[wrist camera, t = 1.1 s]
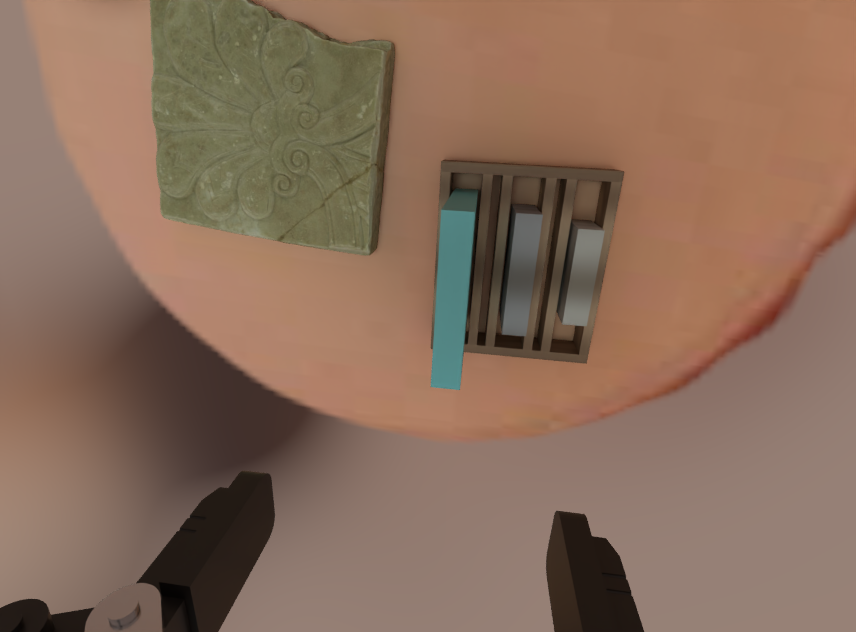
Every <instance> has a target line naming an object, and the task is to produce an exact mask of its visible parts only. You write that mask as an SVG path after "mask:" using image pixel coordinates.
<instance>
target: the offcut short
mask: <svg viewBox="0 0 856 632" xmlns="http://www.w3.org/2000/svg"><path fill="white" fill-rule="evenodd" d="M604 233H605V230H603V229H602V228H601V227H599V226H598V225H597V224H595V223H594V222H592V221H591V220H576V219H571V223H570V230H569V236H568V242H567V248H566V254H565V260H564V266H563V273H562V279H561V285H560V291H559V297H558V303H557V310H556V311H557V313H558V315H559V318H560V320H561V323H562V324H565V325H577V326H587V322H588V317H589V311H590V306H591V301H592V296H593V290H594V285H595V280H596V275H597V269H598V264H599V259H600V254H601V249H602V243H603V238H604Z"/></svg>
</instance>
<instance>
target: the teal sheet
mask: <svg viewBox="0 0 856 632" xmlns="http://www.w3.org/2000/svg"><path fill="white" fill-rule="evenodd" d="M477 198H478V190H476V189H460V188H455V190H454V191H453V193H452V194H451V196H450V197H449V199H448V200H447V202H446V203H445V205H444V206H443V208H442V209H441V222H440V239H439V256H438V273H437V290H436V307H435V324H434V341H433V358H432V375H431V387H436V388H446V389H455V390H460V383H461V373H462V363H463V353H464V343H465V333H466V323H467V313H468V301H469V290H470V278H471V267H472V255H473V244H474V232H475V221H476V209H477Z"/></svg>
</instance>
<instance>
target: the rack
mask: <svg viewBox="0 0 856 632" xmlns="http://www.w3.org/2000/svg"><path fill="white" fill-rule="evenodd" d="M453 172H455V173H472V174H483V180H482V191H481V202H480V214H479V225H478V236H477V247H476V258H475V270H474V281H473V292H472V303H471V314H470V326H469V332H466V333H465V343H464V352H470V353H481V354H491V355H502V356H512V357H523V358H533V359H544V360H554V361H565V362H575V363H586V364H587V359H588V353H589V348H590V343H591V338H592V333H593V328H594V323H595V318H596V313H597V308H598V303H599V298H600V293H601V287H602V282H603V277H604V272H605V267H606V262H607V257H608V252H609V247H610V242H611V237H612V232H613V227H614V222H615V216H616V211H617V206H618V201H619V196H620V191H621V186H622V181H623V176H624V171H619V170H613V169H595V168H578V167H560V166H542V165H525V164H507V163H490V162H472V161H454V160H443V161H441V178H440V195H439V213H438V231H437V248H436V266H435V283H434V301H433V318H432V336H431V349H433V341H434V324H435V307H436V290H437V273H438V256H439V239H440V222H441V209H442V208H443V206H444V205H445V203H446V202H447V200H448V199H449V197H450V196H451V194H452V180H453ZM493 175H502V177H501V187H500V196H499V206H498V216H497V225H496V235H495V245H494V254H493V264H492V273H491V283H490V293H489V302H488V312H487V322H486V331H485V333H478V326H479V315H480V305H481V295H482V284H483V274H484V264H485V253H486V243H487V233H488V223H489V212H490V202H491V192H492V181H493ZM513 176H523V177H540V178H542V180H541V187H540V195H539V202H538V210H539V211H540V212H541V213H542V214H543V218H542V225H541V233H540V240H539V247H538V254H537V261H536V268H535V276H534V283H533V290H532V297H531V304H530V312H529V319H528V326H527V333H526V336H510V335H499V334H496V326H497V317H498V308H499V299H500V290H501V281H502V272H503V263H504V254H505V246H506V237H507V228H508V219H509V210H510V201H511V192H512V183H513ZM557 179H561V181H560V188H559V195H558V201H557V208H556V215H555V222H554V228H553V235H552V242H551V248H550V255H549V262H548V268H547V275H546V282H545V288H544V295H543V302H542V309H541V315H540V322H539V329H538V335H537V338H534V331H535V324H536V318H537V311H538V304H539V297H540V290H541V283H542V277H543V270H544V263H545V256H546V249H547V242H548V236H549V229H550V222H551V215H552V208H553V201H554V195H555V188H556V181H557ZM577 180H590V181H602V184H601V189H600V195H599V200H598V206H597V211H596V217H595V222H594V223H595V224H597V225H598V226H599V227H601V228H602V229H603V230H605V233H604V238H603V243H602V249H601V254H600V259H599V264H598V269H597V275H596V280H595V285H594V290H593V296H592V301H591V306H590V311H589V317H588V322H587V326H577V325H576V327H575V333H574V338H573V341H565V340H554V339H552V334H553V328H554V322H555V316H556V310H557V303H558V297H559V291H560V285H561V279H562V273H563V266H564V260H565V254H566V248H567V242H568V236H569V230H570V223H571V217H572V211H573V205H574V199H575V193H576V186H577Z"/></svg>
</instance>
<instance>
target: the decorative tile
mask: <svg viewBox="0 0 856 632" xmlns="http://www.w3.org/2000/svg"><path fill="white" fill-rule="evenodd" d="M150 7H151V10H150V14H151V41H152V54H153V70H154V73H153V77H152V84H151V90H152V117H153V122H154V125H155V128H156V137H157V156H156V163H157V177H158V183H159V187H160V190H161V194H160V207H161V214H162V216H163V217H164V218H166V219H169V220H173V221H178V222H183V223H188V224H193V225H198V226H203V227H208V228H212V229H217V230H222V231H226V232H231V233H237V234H242V235H248V236H254V237H259V238H265V239H270V240H275V241H280V242H283V243H289V244H296V245H301V246H307V247H314V248H320V249H327V250H333V251H339V252H345V253H352V254H359V255H370V254H372V253H373V252H374V251H375V250H376V248H377V242H378V232H379V220H380V210H381V202H382V191H383V178H384V172H383V171H384V163H385V155H386V146H387V139H388V129H389V115H390V102H391V92H392V82H393V70H394V58H395V50H394V44H393V43H391V42H390V41H384V40H377V41H376V40H367V41H357V42H352V43H351V44H349V43H346V42H340V41H338V40H336V39H332V38H329V37H328V36H326V35H325V34H324V33H321V32H318V31H317V30H315V29H311V28H310V27H308V26H307V25H305V24H303V23H300V22H297V21H293V20H286V19H285V18H284V17H283V16H281V15H280V14H279V13H277V12H274V11H268V10H267V9H266V8H265V7H263V6H260V5H257V4H255V3H254V2H253V1H251V0H150Z"/></svg>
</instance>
